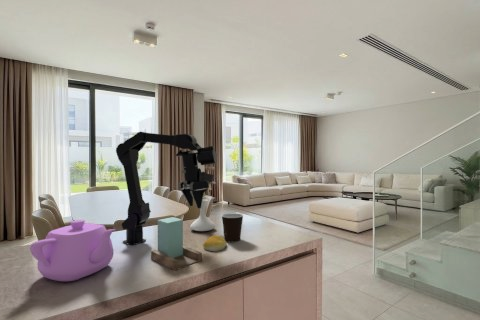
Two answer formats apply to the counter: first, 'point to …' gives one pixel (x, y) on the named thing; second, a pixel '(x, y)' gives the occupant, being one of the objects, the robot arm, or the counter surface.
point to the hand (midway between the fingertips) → (195, 207)
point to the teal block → (170, 236)
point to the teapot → (73, 251)
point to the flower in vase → (203, 218)
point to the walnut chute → (177, 258)
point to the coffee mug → (232, 226)
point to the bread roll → (214, 243)
